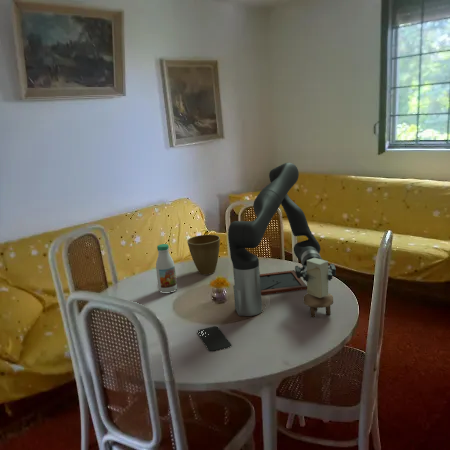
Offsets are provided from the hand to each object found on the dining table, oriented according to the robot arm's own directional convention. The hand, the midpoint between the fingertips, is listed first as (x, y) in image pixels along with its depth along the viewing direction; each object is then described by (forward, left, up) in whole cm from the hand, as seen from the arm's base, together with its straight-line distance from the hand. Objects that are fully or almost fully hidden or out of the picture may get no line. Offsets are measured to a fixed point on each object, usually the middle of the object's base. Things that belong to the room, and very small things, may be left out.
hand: (318, 278), depth 149 cm
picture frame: (-7, +35, -14) cm, 39 cm away
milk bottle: (-49, +45, -14) cm, 68 cm away
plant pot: (-30, +61, -14) cm, 69 cm away
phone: (-38, -3, -14) cm, 40 cm away
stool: (0, +2, -14) cm, 14 cm away
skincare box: (+1, +2, -7) cm, 7 cm away
